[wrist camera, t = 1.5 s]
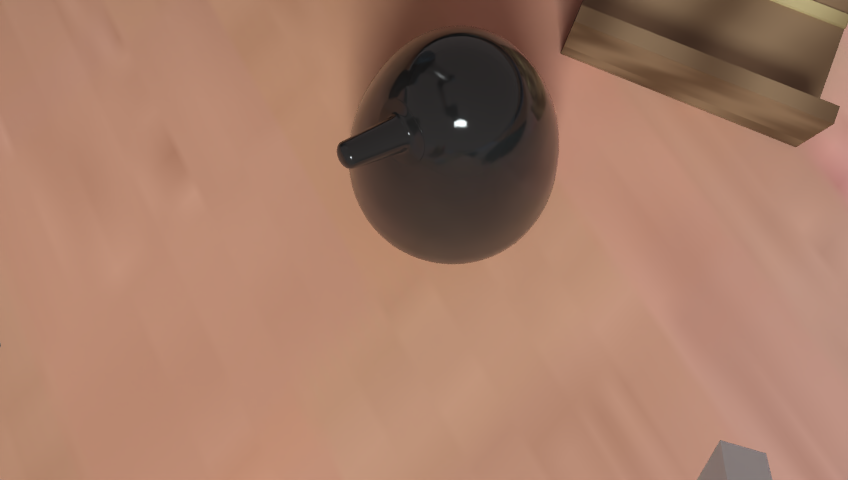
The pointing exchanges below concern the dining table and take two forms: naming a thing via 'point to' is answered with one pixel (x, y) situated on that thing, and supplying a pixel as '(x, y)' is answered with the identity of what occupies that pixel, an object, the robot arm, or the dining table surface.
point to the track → (722, 56)
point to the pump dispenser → (453, 146)
